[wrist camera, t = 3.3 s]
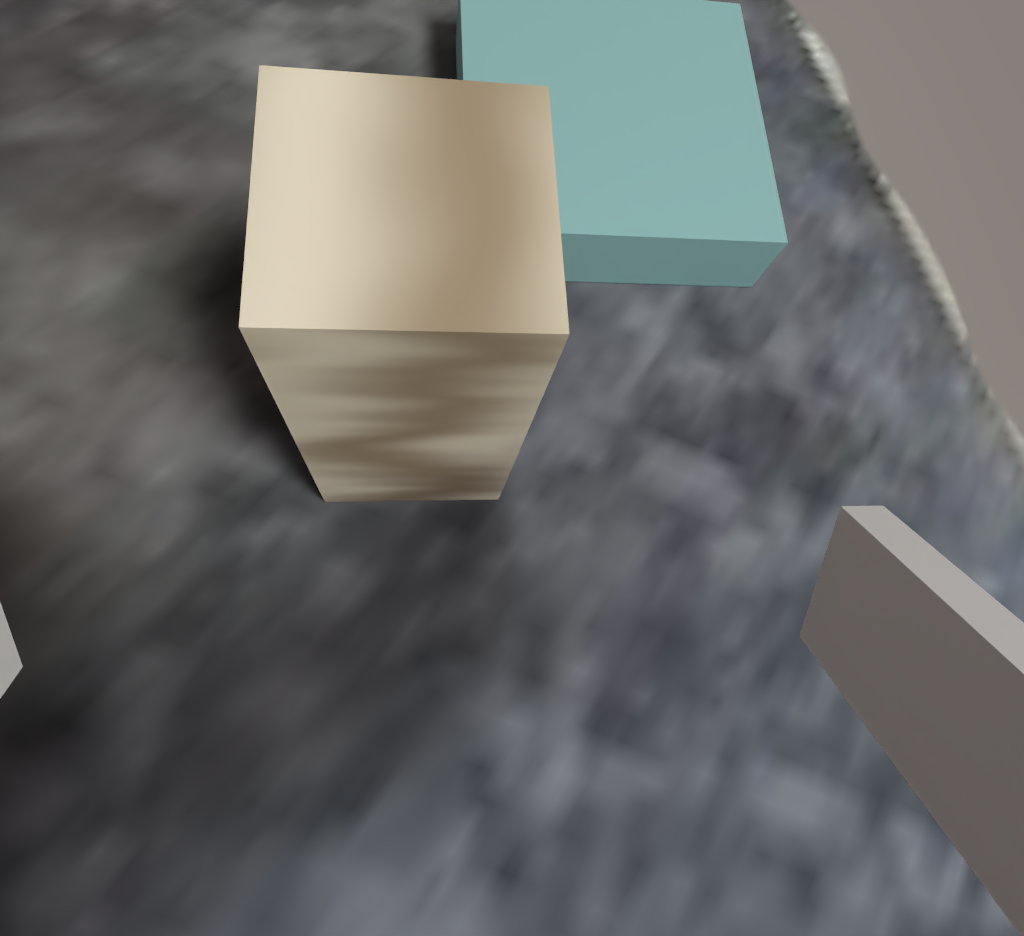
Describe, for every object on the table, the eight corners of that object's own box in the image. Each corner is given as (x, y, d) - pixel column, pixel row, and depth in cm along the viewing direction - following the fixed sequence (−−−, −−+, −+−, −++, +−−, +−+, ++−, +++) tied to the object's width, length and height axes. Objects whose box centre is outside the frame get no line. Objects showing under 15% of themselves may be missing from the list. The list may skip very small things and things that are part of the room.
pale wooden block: (324, 501, 23) (238, 327, 12) (330, 344, 25) (259, 65, 14) (498, 499, 24) (569, 334, 13) (491, 347, 26) (549, 86, 15)
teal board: (463, 278, 27) (468, 229, 24) (455, 43, 30) (459, -23, 28) (751, 286, 28) (787, 243, 26) (711, 64, 32) (739, 3, 29)
